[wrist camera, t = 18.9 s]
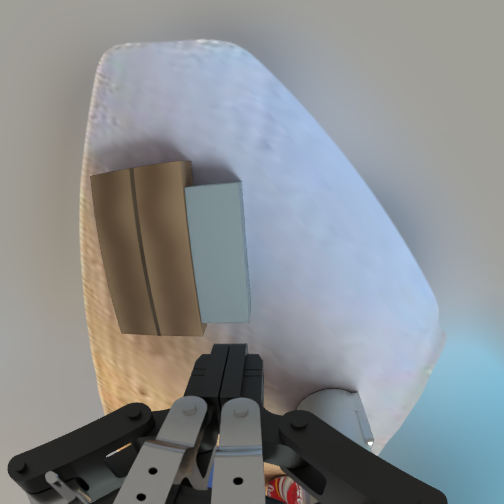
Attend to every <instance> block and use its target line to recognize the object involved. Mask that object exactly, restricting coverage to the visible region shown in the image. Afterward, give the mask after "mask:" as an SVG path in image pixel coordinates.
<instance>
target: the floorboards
mask: <svg viewBox="0 0 504 504" xmlns="http://www.w3.org/2000/svg"><path fill="white" fill-rule="evenodd" d="M90 179H91V188H92V197H93V205H94V212H95V219H96V225H97V231H98V237H99V243H100V248H101V253H102V258H103V263H104V268H105V272H106V277H107V281H108V285H109V290H110V294H111V298H112V301H113V305H114V309H115V313H116V316H117V320H118V323H119V327H120V330H121V333H122V334H139V335H158V336H161V335H162V336H203V334H204V331H205V328H206V326H207V323H202V321H201V315H200V308H199V302H198V295H197V289H196V282H195V275H194V267H193V260H192V252H191V244H190V236H189V228H188V219H187V209H186V200H185V189H184V188H186V187H189V186H193V179H192V167H191V161H174V162H167V163H160V164H154V165H147V166H141V167H135V168H129V169H124V170H118V171H113V172H108V173H103V174H98V175H93V176H90Z"/></svg>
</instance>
